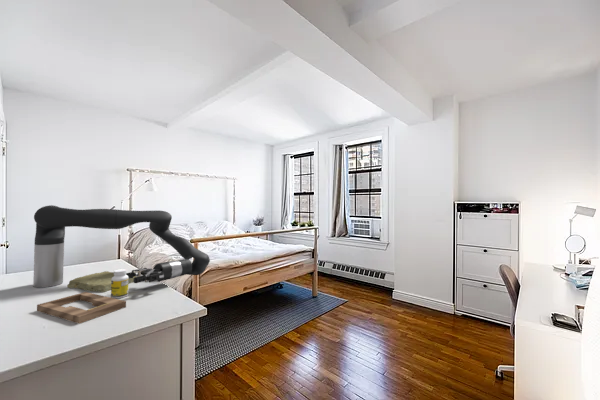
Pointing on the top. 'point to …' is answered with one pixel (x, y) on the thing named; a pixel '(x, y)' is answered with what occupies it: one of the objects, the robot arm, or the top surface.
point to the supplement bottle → (119, 284)
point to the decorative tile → (95, 282)
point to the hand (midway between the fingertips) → (128, 278)
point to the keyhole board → (81, 315)
